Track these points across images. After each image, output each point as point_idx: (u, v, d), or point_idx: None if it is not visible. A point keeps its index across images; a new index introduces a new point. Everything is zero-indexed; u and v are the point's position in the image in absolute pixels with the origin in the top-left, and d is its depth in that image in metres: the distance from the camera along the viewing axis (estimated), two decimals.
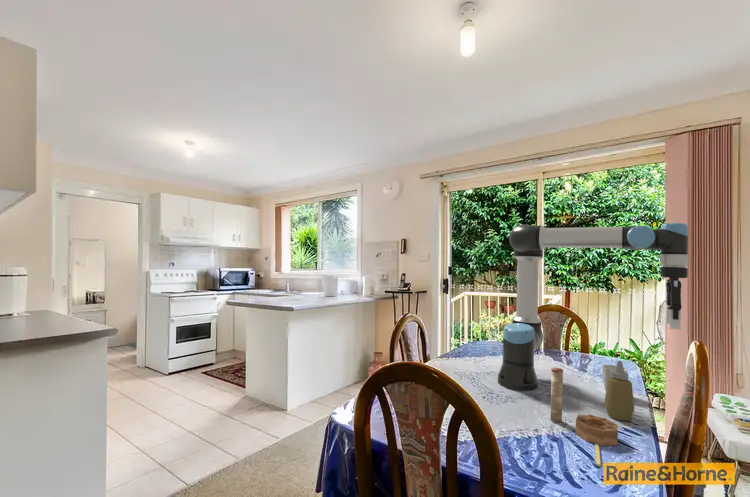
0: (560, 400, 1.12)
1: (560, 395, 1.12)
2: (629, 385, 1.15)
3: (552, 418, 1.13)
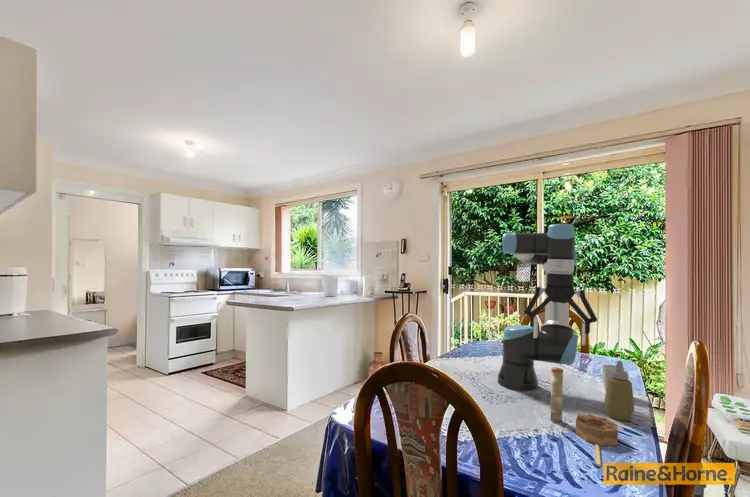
0: (560, 400, 1.12)
1: (560, 395, 1.12)
2: (629, 385, 1.15)
3: (552, 418, 1.13)
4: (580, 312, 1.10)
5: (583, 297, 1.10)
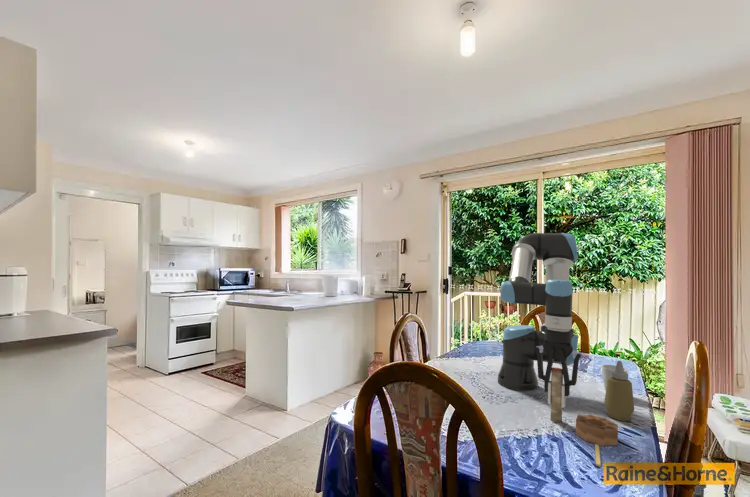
0: (560, 400, 1.12)
1: (560, 395, 1.12)
2: (629, 385, 1.15)
3: (552, 418, 1.13)
4: (565, 374, 1.11)
5: (576, 360, 1.10)
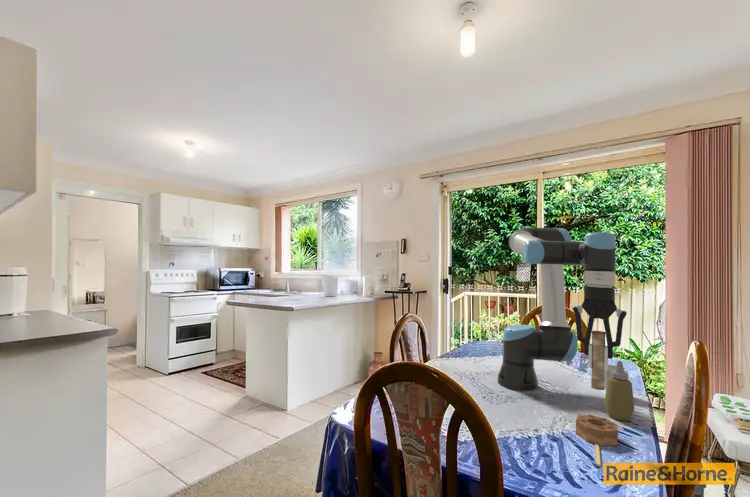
0: (603, 365, 1.02)
1: (603, 360, 1.02)
2: (629, 385, 1.15)
3: (594, 385, 1.03)
4: (609, 334, 1.02)
5: (621, 319, 1.00)
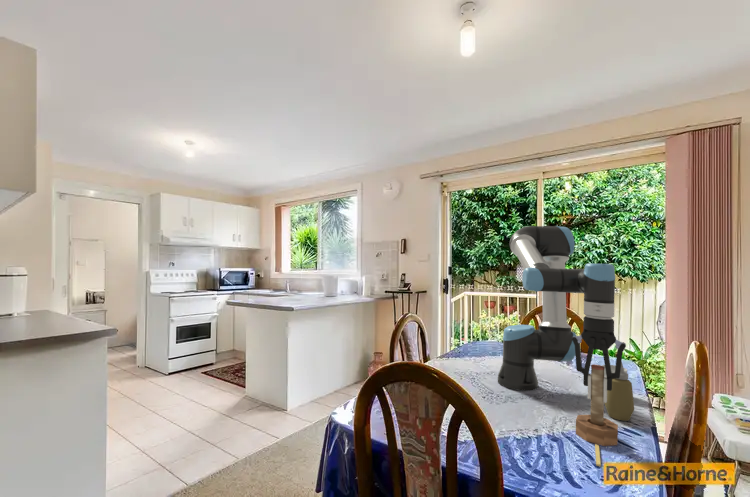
0: (602, 400, 1.02)
1: (602, 395, 1.02)
2: (629, 385, 1.15)
3: (593, 420, 1.03)
4: (608, 366, 1.02)
5: (621, 351, 1.00)
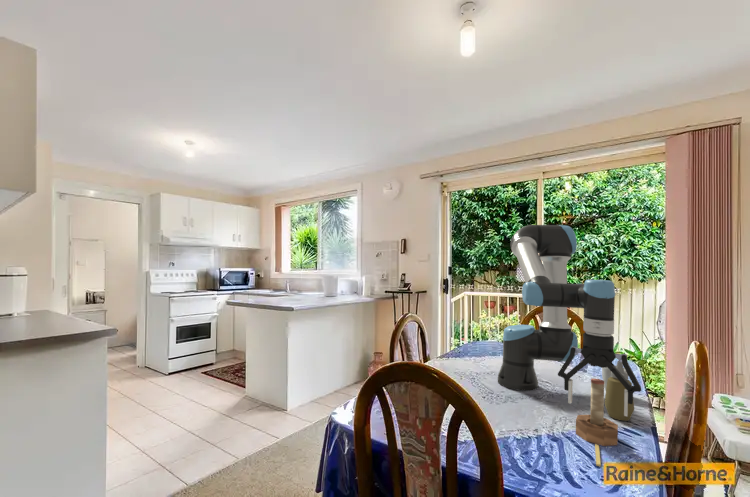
0: (601, 415, 1.02)
1: (601, 409, 1.02)
2: None
3: None
4: (622, 379, 1.00)
5: (625, 363, 1.00)
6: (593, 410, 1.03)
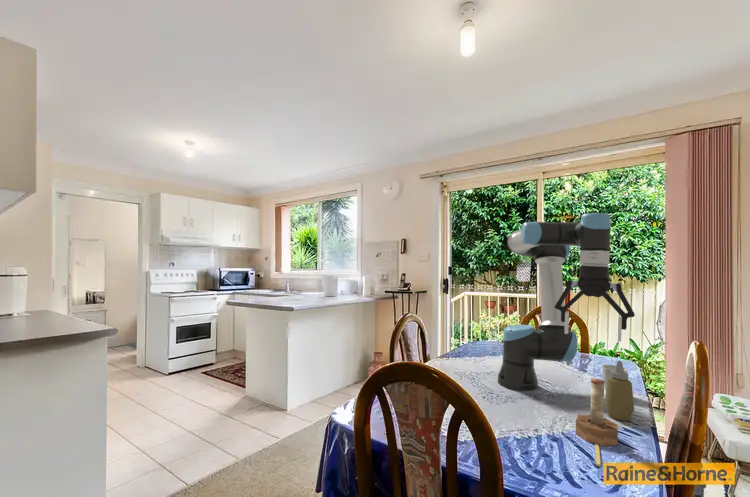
0: (601, 415, 1.02)
1: (601, 409, 1.02)
2: (629, 385, 1.15)
3: None
4: (616, 306, 1.04)
5: (620, 291, 1.03)
6: (593, 410, 1.03)
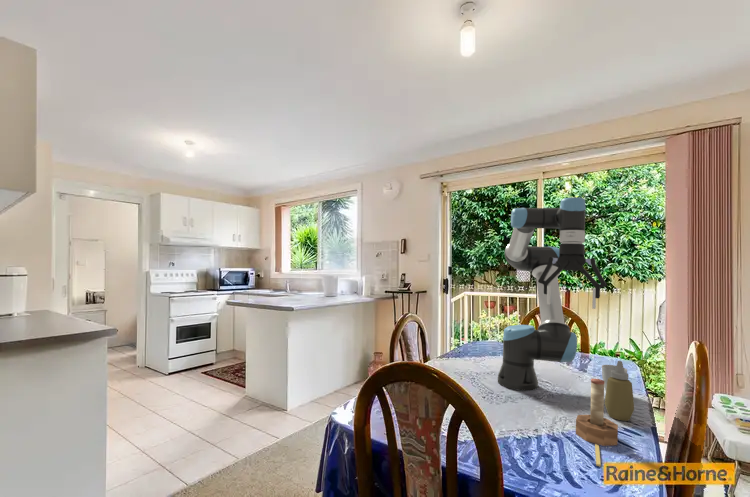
0: (601, 415, 1.02)
1: (601, 409, 1.02)
2: (629, 385, 1.15)
3: None
4: (591, 278, 1.19)
5: (593, 264, 1.18)
6: (593, 410, 1.03)
